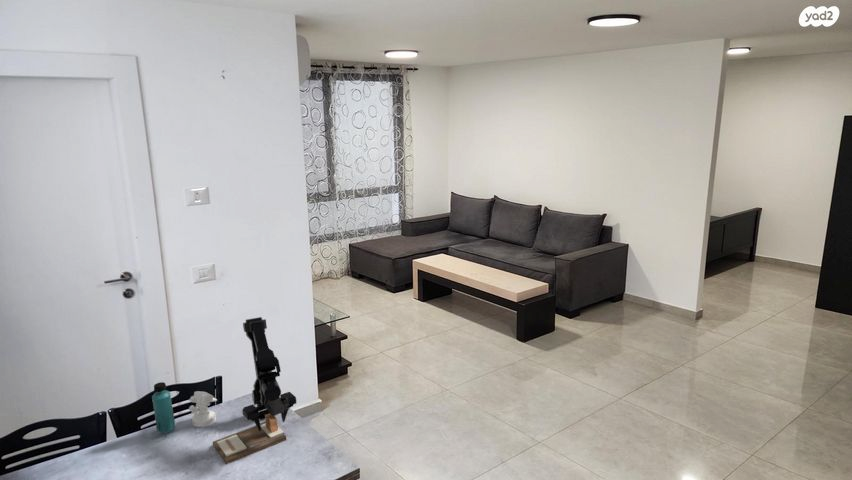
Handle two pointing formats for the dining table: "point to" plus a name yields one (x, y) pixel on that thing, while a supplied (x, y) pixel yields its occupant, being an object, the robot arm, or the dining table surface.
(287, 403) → the robot arm
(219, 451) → the ticket board
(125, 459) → the dining table surface
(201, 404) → the character figurine
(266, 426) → the stub
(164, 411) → the beverage bottle
